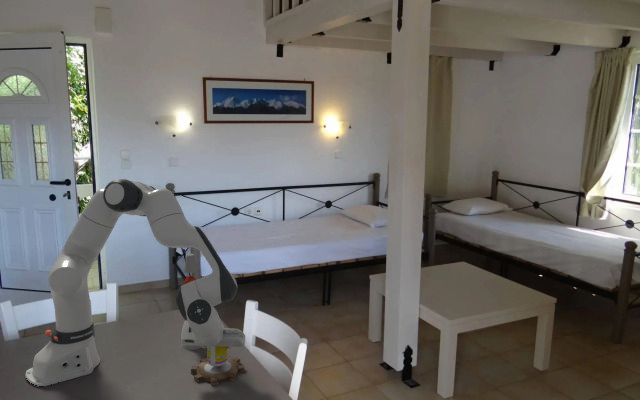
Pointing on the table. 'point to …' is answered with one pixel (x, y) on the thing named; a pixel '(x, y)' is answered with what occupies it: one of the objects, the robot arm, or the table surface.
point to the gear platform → (217, 371)
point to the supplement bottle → (217, 355)
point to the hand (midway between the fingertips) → (217, 346)
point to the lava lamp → (189, 268)
